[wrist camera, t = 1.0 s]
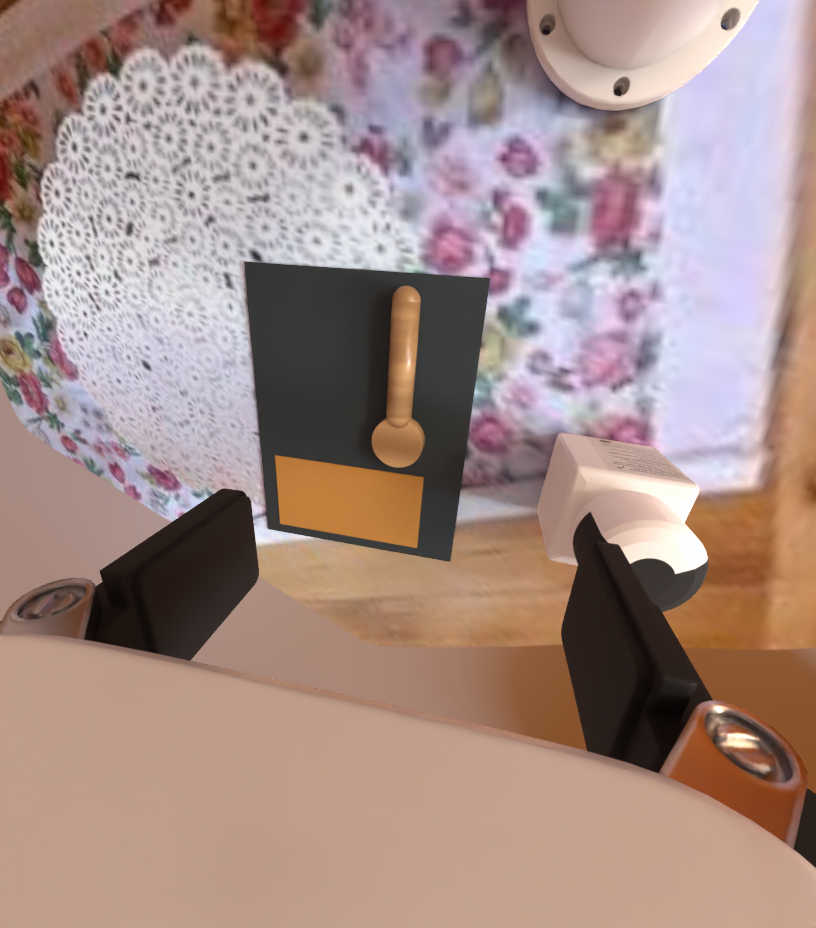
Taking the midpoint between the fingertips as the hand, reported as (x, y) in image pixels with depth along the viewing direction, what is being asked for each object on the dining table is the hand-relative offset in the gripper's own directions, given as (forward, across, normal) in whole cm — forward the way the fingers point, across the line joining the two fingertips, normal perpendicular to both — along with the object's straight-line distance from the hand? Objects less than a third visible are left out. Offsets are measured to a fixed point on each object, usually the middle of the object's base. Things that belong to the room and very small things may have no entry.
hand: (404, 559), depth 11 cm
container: (+24, -12, +6) cm, 28 cm away
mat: (+24, +9, +4) cm, 26 cm away
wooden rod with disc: (+24, +5, 0) cm, 24 cm away
